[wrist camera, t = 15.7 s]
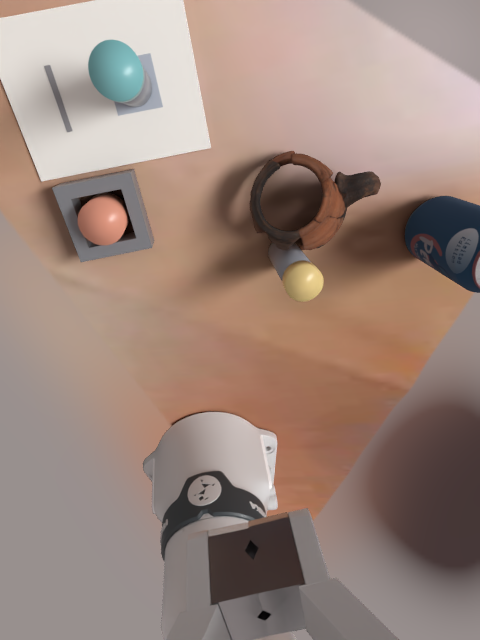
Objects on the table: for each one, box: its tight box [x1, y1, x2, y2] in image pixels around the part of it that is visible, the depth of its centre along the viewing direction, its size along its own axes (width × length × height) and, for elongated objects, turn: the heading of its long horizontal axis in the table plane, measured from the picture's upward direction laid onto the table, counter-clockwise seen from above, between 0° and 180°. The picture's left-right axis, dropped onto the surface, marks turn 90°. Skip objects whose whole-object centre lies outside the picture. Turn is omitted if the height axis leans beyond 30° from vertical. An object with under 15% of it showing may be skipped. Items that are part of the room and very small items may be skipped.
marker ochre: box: [268, 242, 323, 302], centre depth 38 cm, size 3×3×9 cm
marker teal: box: [88, 40, 152, 107], centre depth 29 cm, size 3×3×9 cm
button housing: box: [52, 169, 154, 262], centre depth 37 cm, size 7×7×2 cm
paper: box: [0, 0, 211, 181], centre depth 34 cm, size 12×16×1 cm
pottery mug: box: [250, 151, 381, 250], centre depth 38 cm, size 12×10×8 cm
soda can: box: [405, 196, 480, 293], centre depth 38 cm, size 7×7×12 cm
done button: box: [78, 193, 130, 245], centre depth 36 cm, size 4×4×4 cm
